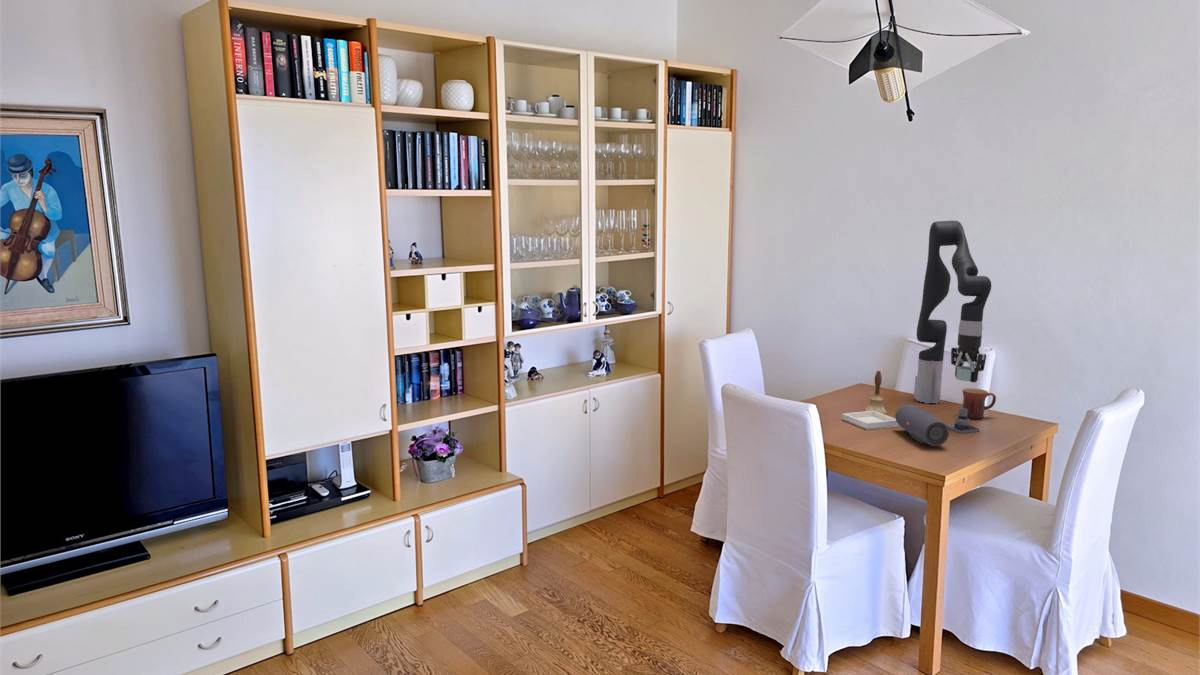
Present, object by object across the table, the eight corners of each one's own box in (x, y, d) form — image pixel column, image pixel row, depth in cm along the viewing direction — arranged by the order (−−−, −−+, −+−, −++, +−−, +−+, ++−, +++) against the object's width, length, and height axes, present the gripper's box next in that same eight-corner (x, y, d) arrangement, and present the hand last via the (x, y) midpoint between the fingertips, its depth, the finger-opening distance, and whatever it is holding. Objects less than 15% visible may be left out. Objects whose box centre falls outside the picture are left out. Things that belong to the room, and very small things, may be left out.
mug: (964, 420, 307) (966, 393, 306) (956, 413, 316) (959, 387, 314) (998, 421, 306) (1000, 394, 304) (989, 415, 315) (991, 388, 313)
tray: (842, 419, 305) (842, 413, 305) (873, 416, 310) (873, 410, 310) (866, 430, 292) (867, 423, 292) (898, 426, 297) (899, 420, 297)
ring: (952, 377, 293) (953, 366, 293) (968, 376, 296) (969, 365, 295) (965, 381, 288) (966, 370, 287) (982, 380, 290) (983, 369, 289)
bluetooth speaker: (892, 430, 293) (894, 402, 291) (917, 430, 293) (920, 402, 292) (921, 449, 270) (924, 420, 269) (949, 449, 271) (951, 420, 269)
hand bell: (890, 414, 314) (893, 373, 311) (868, 414, 314) (871, 373, 311) (883, 409, 322) (886, 368, 319) (861, 408, 322) (864, 368, 319)
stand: (944, 427, 297) (946, 407, 296) (961, 425, 300) (963, 405, 298) (961, 433, 290) (963, 412, 288) (978, 431, 292) (980, 410, 291)
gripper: (946, 330, 294) (942, 376, 297) (977, 337, 281) (973, 385, 284) (963, 329, 297) (958, 375, 300) (994, 335, 283) (990, 383, 286)
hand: (965, 379), depth 292 cm, fingers closed on ring, 6 cm apart
